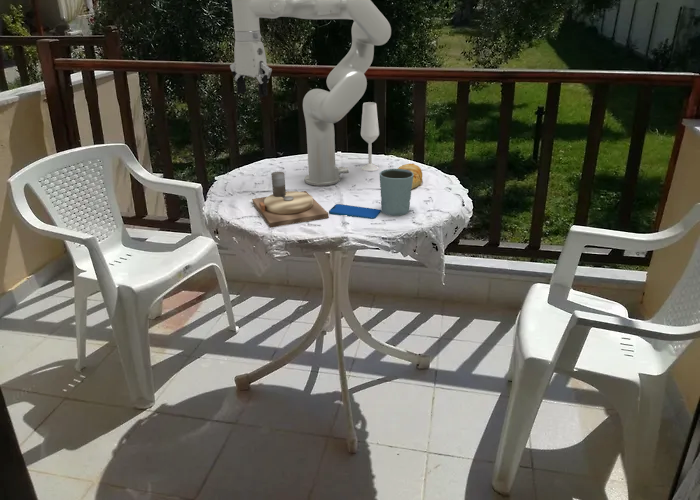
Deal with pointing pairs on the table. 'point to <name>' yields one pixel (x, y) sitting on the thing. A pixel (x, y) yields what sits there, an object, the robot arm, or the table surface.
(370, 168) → the champagne flute
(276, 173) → the dial
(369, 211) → the smartphone
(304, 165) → the table surface
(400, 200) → the grey-green cup
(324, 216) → the board
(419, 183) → the croissant
